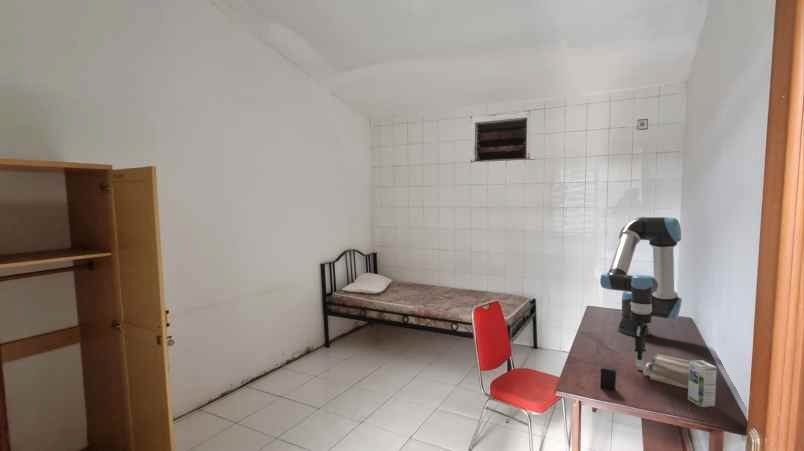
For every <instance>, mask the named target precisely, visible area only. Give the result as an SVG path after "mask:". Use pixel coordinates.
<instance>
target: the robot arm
mask: <svg viewBox="0 0 804 451" xmlns="http://www.w3.org/2000/svg"><path fill="white" fill-rule="evenodd" d="M618 239H619V242H618V244H617V248H616V251H615V253H614V256H613V259H612V262H611V265H610V267H609V271H608V272H602V273H601V276H600V278H599V279H600V281H599V282H600V286H601V288H602V289H606V290H611V291H621V292H622V294H621V295H622V296H621V317H620V320H619V322H618V325H617V331H618V332H620V334H624V335H627V336H633V337H634V340H635V341H634V342H635V343H634V346H635V348H634V349H633V351H634V352H635V367H639V368H643V369H644V368H645V352H647V349H645V348H646V337H647V336H650V334H651V329H650V327H649V324H650V323H652V317H653V318H660V319H666V320H673V321H674V320H677V319H678V318H679V316H680V311H681V306H682V302H683V301H682V298H681V297H680V296H679V295H678V292H677V291H675V271H674V270H675V264H674V263H675V262H674V256H675V255H674V254H675V253H674V248H675V247H676V246H677V245H678V243H680V242H681V240H682V230H681V224H680V222H679V220H678V219H677V218H675V217H667V216H666V217H663V216H662V217H660V216H658V217H646V216H640V217H637V218H633V219H631V221H629V222H627V223H626V224H625V225H624V226H623V227H622V229H621V230H620V232H619V234H618ZM641 241H649V243H648V244H649V245H650V246H651V247H652V259H653V260H652V262H653V264H652V265H653V276H652V275H645V274H635V275H630V274H629V275H628V273H629V269H630V268H631V267H630V266H631V263H632V260H633V257H634V253H635V250H636V247H637V245H638V244H639V243H640V242H641Z"/></svg>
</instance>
